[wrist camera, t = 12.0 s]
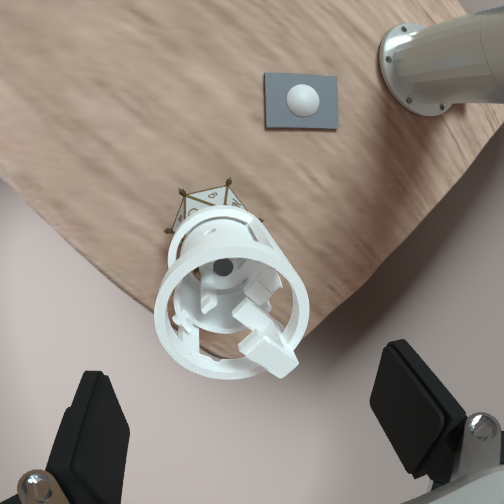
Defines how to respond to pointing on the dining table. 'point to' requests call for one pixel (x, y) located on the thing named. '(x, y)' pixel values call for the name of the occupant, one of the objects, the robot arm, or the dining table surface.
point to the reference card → (301, 101)
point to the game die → (204, 205)
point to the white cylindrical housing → (229, 295)
